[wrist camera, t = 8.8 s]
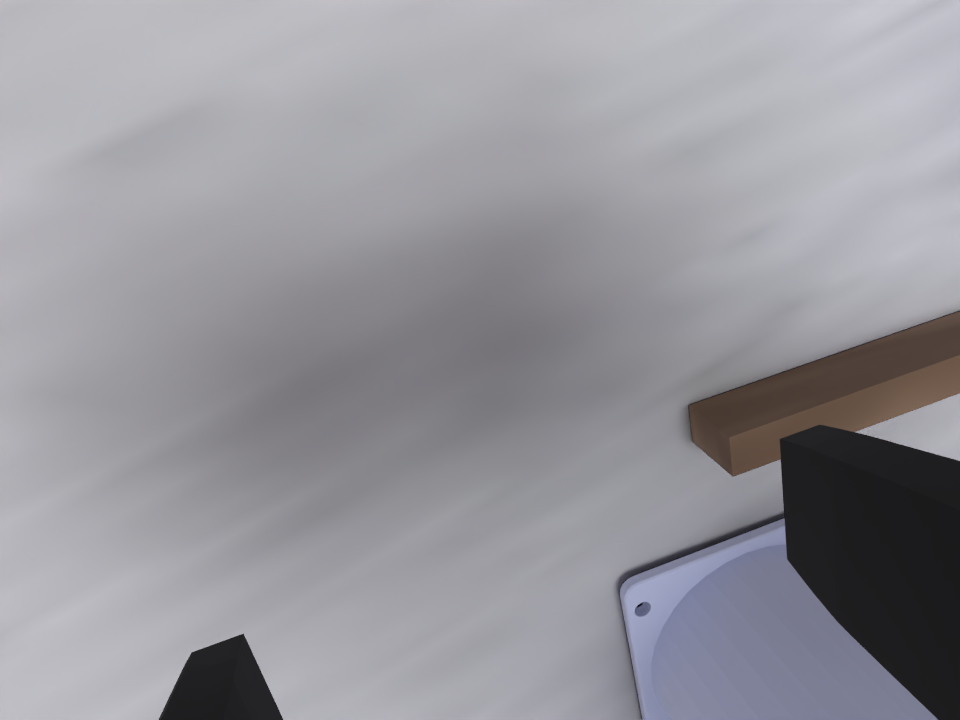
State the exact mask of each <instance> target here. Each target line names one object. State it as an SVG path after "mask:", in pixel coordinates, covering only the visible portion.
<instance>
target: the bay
mask: <svg viewBox="0 0 960 720" xmlns="http://www.w3.org/2000/svg"><path fill="white" fill-rule="evenodd" d="M959 393H960V311H959V312H956V313H953V314H950V315H947V316H944V317H941V318H939V319H936V320H933V321H930V322H927V323H924V324H921V325H918V326H916V327H913V328H910V329H907V330H904V331H901V332H898V333H895V334H892V335H890V336H887V337H884V338H881V339H878V340H875V341H872V342H869V343H867V344H864V345H861V346H858V347H855V348H852V349H849V350H846V351H844V352H841V353H838V354H835V355H832V356H829V357H826V358H823V359H821V360H818V361H815V362H812V363H809V364H806V365H803V366H800V367H797V368H795V369H792V370H789V371H786V372H783V373H780V374H777V375H774V376H772V377H769V378H766V379H763V380H760V381H757V382H754V383H751V384H749V385H746V386H743V387H740V388H737V389H734V390H731V391H728V392H726V393H723V394H720V395H717V396H714V397H711V398H708V399H705V400H703V401H700V402H697V403H694V404H691V405H689V414H690V422H691V431H692V439H693V443H695V444H696V445H697V446H698V447H699V448H700V449H702V450H703V451H704V452H705V453H706V454H707V455H708V456H710V457H711V458H712V459H713V460H714V461H715V462H717V463H718V464H719V465H720V466H721V467H722V468H723V469H725V470H726V471H727V472H728V473H729V474H730V475H731V476H736V475H739V474H741V473H744V472H747V471H750V470H752V469H755V468H758V467H761V466H763V465H766V464H769V463H771V462H774V461H777V460H780V459H781V452H780V439H781V438H784V437H787V436H789V435H792V434H795V433H798V432H800V431H803V430H806V429H809V428H811V427H814V426H817V425H825V426H829V427H834V428H839V429H843V430H847V431H851V432H856V431H858V430H861V429H864V428H866V427H869V426H872V425H875V424H877V423H880V422H883V421H885V420H888V419H891V418H894V417H896V416H899V415H902V414H904V413H907V412H910V411H913V410H915V409H918V408H921V407H923V406H926V405H929V404H932V403H934V402H937V401H940V400H942V399H945V398H948V397H951V396H953V395H956V394H959Z"/></svg>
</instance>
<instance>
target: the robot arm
mask: <svg viewBox="0 0 960 720" xmlns="http://www.w3.org/2000/svg"><path fill="white" fill-rule="evenodd" d="M780 452H781V469H782V485H783V502H784V519H781V520H778V521H776V522H773V523H771V524H768V525H765V526H763V527H760V528H757V529H755V530H752V531H750V532H747V533H744V534H742V535H739V536H737V537H734V538H731V539H729V540H726V541H724V542H721V543H718V544H716V545H713V546H710V547H708V548H705V549H703V550H700V551H697V552H695V553H692V554H690V555H687V556H684V557H682V558H679V559H676V560H674V561H671V562H669V563H666V564H663V565H661V566H658V567H656V568H653V569H650V570H648V571H645V572H643V573H640V574H637V575H635V576H632V577H631V578H629V579H627V580H626V581H625V582H624V583H623V585H622V587H621V589H620V598H621V604H622V609H623V615H624V620H625V626H626V631H627V637H628V642H629V648H630V653H631V659H632V664H633V670H634V675H635V681H636V686H637V692H638V697H639V703H640V708H641V714H642V720H960V461H957V460H954V459H950V458H946V457H943V456H939V455H936V454H932V453H929V452H925V451H921V450H918V449H914V448H911V447H907V446H904V445H900V444H896V443H893V442H889V441H885V440H882V439H878V438H874V437H871V436H867V435H863V434H859V433H855V432H851V431H847V430H843V429H839V428H834V427H829V426H825V425H817V426H814V427H811V428H809V429H806V430H803V431H800V432H798V433H795V434H792V435H789V436H787V437H784V438H781V439H780ZM642 602H644V603H643V604H642V605H641V606H639V607H638V608H636V607H637V605H639V604H640V603H642ZM159 720H283V718H282V716H281V714H280V712H279V710H278V707H277V705H276V703H275V701H274V699H273V697H272V694H271V692H270V690H269V688H268V686H267V684H266V682H265V679H264V677H263V675H262V673H261V671H260V669H259V666H258V664H257V662H256V660H255V658H254V656H253V653H252V651H251V649H250V647H249V645H248V643H247V640H246V638H245V636H244V634H242V635H239V636H236V637H233V638H231V639H228V640H225V641H222V642H220V643H217V644H214V645H211V646H209V647H206V648H203V649H200V650H198V651H195V652H192V653H191V655H190V657H189V659H188V660H187V662H186V664H185V666H184V668H183V670H182V672H181V674H180V676H179V678H178V680H177V682H176V684H175V686H174V689H173V691H172V693H171V695H170V697H169V699H168V701H167V703H166V705H165V708H164V710H163V712H162V714H161V716H160V718H159Z"/></svg>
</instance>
